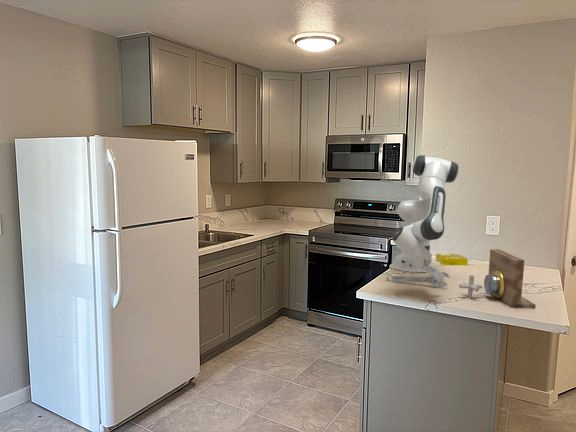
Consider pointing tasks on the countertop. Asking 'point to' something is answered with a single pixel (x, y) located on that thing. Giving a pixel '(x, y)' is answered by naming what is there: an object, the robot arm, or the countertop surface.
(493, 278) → the door knob
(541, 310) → the countertop surface
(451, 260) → the element tile
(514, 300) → the board
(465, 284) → the pipe connector
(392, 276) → the wrench
